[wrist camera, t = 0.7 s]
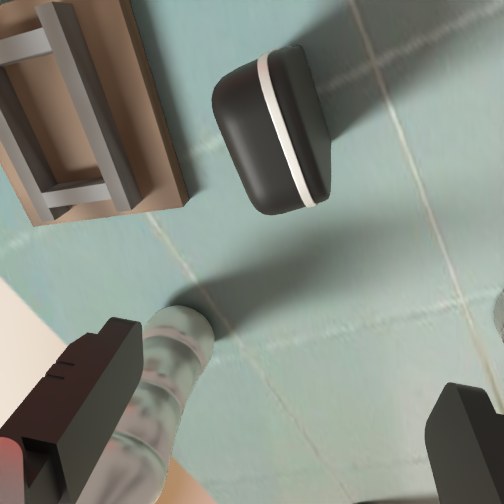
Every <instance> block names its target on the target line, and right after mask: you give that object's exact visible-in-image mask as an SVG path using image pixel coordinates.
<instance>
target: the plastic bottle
mask: <svg viewBox="0 0 504 504" xmlns="http://www.w3.org/2000/svg"><path fill="white" fill-rule="evenodd" d="M142 338H143V357H144V366H143V372H142V376H141V379H140V382H139V384H138V386H137V388H136V390H135V392H134V394H133V396H132V398H131V400H130V402H129V403H128V405H127V407H126V409H125V411H124V413H123V415H122V417H121V419H120V421H119V422H118V424H117V426H116V428H115V430H114V432H113V434H112V436H111V438H110V439H109V441H108V443H107V445H106V447H105V449H104V451H103V453H102V455H101V457H100V458H99V460H98V462H97V464H96V466H95V468H94V470H93V472H92V474H91V476H90V477H89V479H88V481H87V483H86V485H85V487H84V489H83V491H82V493H81V494H80V496H79V498H78V500H77V502H76V504H154V503H155V502H156V501H157V499H158V498H159V496H160V495H161V492H162V491H163V487H164V483H165V480H166V476H167V472H168V467H169V463H170V459H171V454H172V449H173V445H174V440H175V436H176V433H177V430H178V427H179V424H180V420H181V416H182V414H183V411H184V408H185V405H186V402H187V400H188V398H189V396H190V394H191V392H192V390H193V388H194V386H195V384H196V382H197V380H198V378H199V376H200V375H201V374H202V372H203V371H204V369H205V368H206V366H207V364H208V363H209V361H210V359H211V357H212V354H213V347H214V340H215V338H214V333H213V330H212V328H211V326H210V324H209V322H208V321H207V319H206V318H205V317H204V316H203V315H202V314H200V313H199V312H198V311H196V310H194V309H192V308H189V307H186V306H179V305H178V306H170V307H166V308H163V309H161V310H159V311H158V312H156V313H155V314H154V315H153V316H152V317H151V318H150V319H149V321H148V322H147V323H146V325H145V327H144V329H143V331H142Z"/></svg>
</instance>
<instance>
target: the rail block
mask: <svg viewBox="0 0 504 504" xmlns="http://www.w3.org/2000/svg"><path fill="white" fill-rule="evenodd" d="M0 164H1V166H2V168H3V170H4V172H5V174H6V176H7V177H8V179H9V181H10V183H11V185H12V187H13V189H14V191H15V193H16V195H17V197H18V199H19V200H20V202H21V204H22V206H23V208H24V210H25V212H26V214H27V216H28V218H29V220H30V221H31V223H32V225H33V227H34V226H41V225H49V224H57V223H64V222H72V221H80V220H87V219H95V218H103V217H111V216H118V215H126V214H134V213H141V212H149V211H157V210H164V209H172V208H180V207H184V205H185V204H186V203H187V202H188V201H189V197H188V193H187V190H186V187H185V183H184V180H183V177H182V173H181V170H180V167H179V163H178V160H177V157H176V153H175V150H174V147H173V143H172V140H171V137H170V133H169V130H168V127H167V123H166V120H165V117H164V114H163V110H162V107H161V104H160V100H159V97H158V94H157V90H156V87H155V84H154V80H153V77H152V74H151V70H150V67H149V64H148V60H147V57H146V54H145V50H144V47H143V44H142V40H141V37H140V34H139V30H138V27H137V24H136V20H135V17H134V14H133V11H132V7H131V4H130V1H129V0H14V1H11V2H8V3H4V4H1V5H0Z"/></svg>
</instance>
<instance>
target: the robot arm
mask: <svg viewBox="0 0 504 504" xmlns="http://www.w3.org/2000/svg"><path fill="white" fill-rule="evenodd" d="M494 322H495V325H496V328H497V330H498V332H499V334H500V336H501V338H502V341H503V343H504V291H503V292H502V293H501V295H500V297H499V298H498V300H497V302H496V306H495V309H494ZM143 366H144V357H143V338H142V325H141V323H140V322H137V321H132V320H127V319H121V318H116V317H112V318H110V319H109V320H108V321H107V322H106V324H105V325H104V326H103V328H102V329H101V330H100V332H99V333H98V334H93V333H86V334H85V335H83V336H82V337H80V338H79V339H77V340H76V341H74V342H73V343H71V344H69V346H68V347H67V348H66V350H65V351H64V352H63V353H62V354H61V356H60V357H59V358H58V359H57V360H56V363H55V364H53V365H52V367H51V368H50V369H49V370H48V371H47V372H46V374H45V377H42V379H41V380H40V381H39V382H38V384H37V385H36V386H35V387H34V388H33V390H32V391H31V392H30V393H29V394H28V396H27V397H26V398H25V399H24V400H23V402H22V403H21V404H20V405H19V407H18V408H17V409H16V410H15V412H14V413H13V414H12V415H11V416H10V418H9V419H8V420H7V421H6V422H5V424H4V425H3V426H2V427H1V429H0V504H76V502H77V500H78V498H79V496H80V494H81V493H82V491H83V489H84V487H85V485H86V483H87V481H88V479H89V477H90V476H91V474H92V472H93V470H94V468H95V466H96V464H97V462H98V460H99V458H100V457H101V455H102V453H103V451H104V449H105V447H106V445H107V443H108V441H109V439H110V438H111V436H112V434H113V432H114V430H115V428H116V426H117V424H118V422H119V421H120V419H121V417H122V415H123V413H124V411H125V409H126V407H127V405H128V403H129V402H130V400H131V398H132V396H133V394H134V392H135V390H136V388H137V386H138V384H139V382H140V379H141V376H142V372H143ZM425 444H426V449H427V453H428V457H429V461H430V465H431V468H432V472H433V476H434V480H435V484H436V488H437V492H438V496H439V500H440V504H504V415H501V414H496V412H495V409H494V407H493V405H492V403H491V401H490V399H489V397H488V395H487V393H486V392H485V390H483V389H482V388H477V387H472V386H467V385H462V384H456V383H451V382H450V383H447V384H446V385H445V387H444V389H443V391H442V393H441V394H440V396H439V398H438V400H437V402H436V404H435V406H434V408H433V410H432V412H431V414H430V416H429V418H428V420H427V422H426V427H425Z"/></svg>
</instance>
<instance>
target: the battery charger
mask: <svg viewBox="0 0 504 504" xmlns="http://www.w3.org/2000/svg"><path fill="white" fill-rule="evenodd" d="M212 108H213V113H214V116H215V119H216V122H217V124H218V126H219V129H220V131H221V134H222V136H223V139H224V141H225V143H226V146H227V148H228V151H229V153H230V155H231V158H232V160H233V162H234V165H235V167H236V169H237V172H238V174H239V176H240V179H241V181H242V183H243V186H244V188H245V190H246V193H247V195H248V197H249V199H250V201H251V203H252V204H253V206H254V207H255V208H256V209H257V210H258V211H259V212H261V213H262V214H265V215H277V214H283V213H286V212H289V211H293V210H296V209H300V208H303V207H306V206H307V207H308V208H310V207H314V206H317V205H318V203H320V202H323V201H325V200H327V199H328V198H329V196H330V190H331V138H330V135H329V132H328V128H327V125H326V122H325V118H324V115H323V112H322V108H321V105H320V102H319V99H318V95H317V92H316V89H315V85H314V82H313V79H312V76H311V72H310V69H309V66H308V63H307V59H306V56H305V53H304V50H303V48H302V46H301V45H296V46H293V47H291V46H289V47H285V48H281V49H280V48H279V49H273V50H271V51H269V52H267V53H265V54H263V55H261V56H260V57H259V59H256V60H254V61H252V62H250V63H248V64H245V65H243V66H241V67H239V68H237V69H235V70H234V71H232V72H230V73H229V74H227V75H225V76H224V77H222V78H221V80H220V81H219V82H218V83H217V85H216V86H215V88H214V91H213V94H212Z"/></svg>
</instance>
